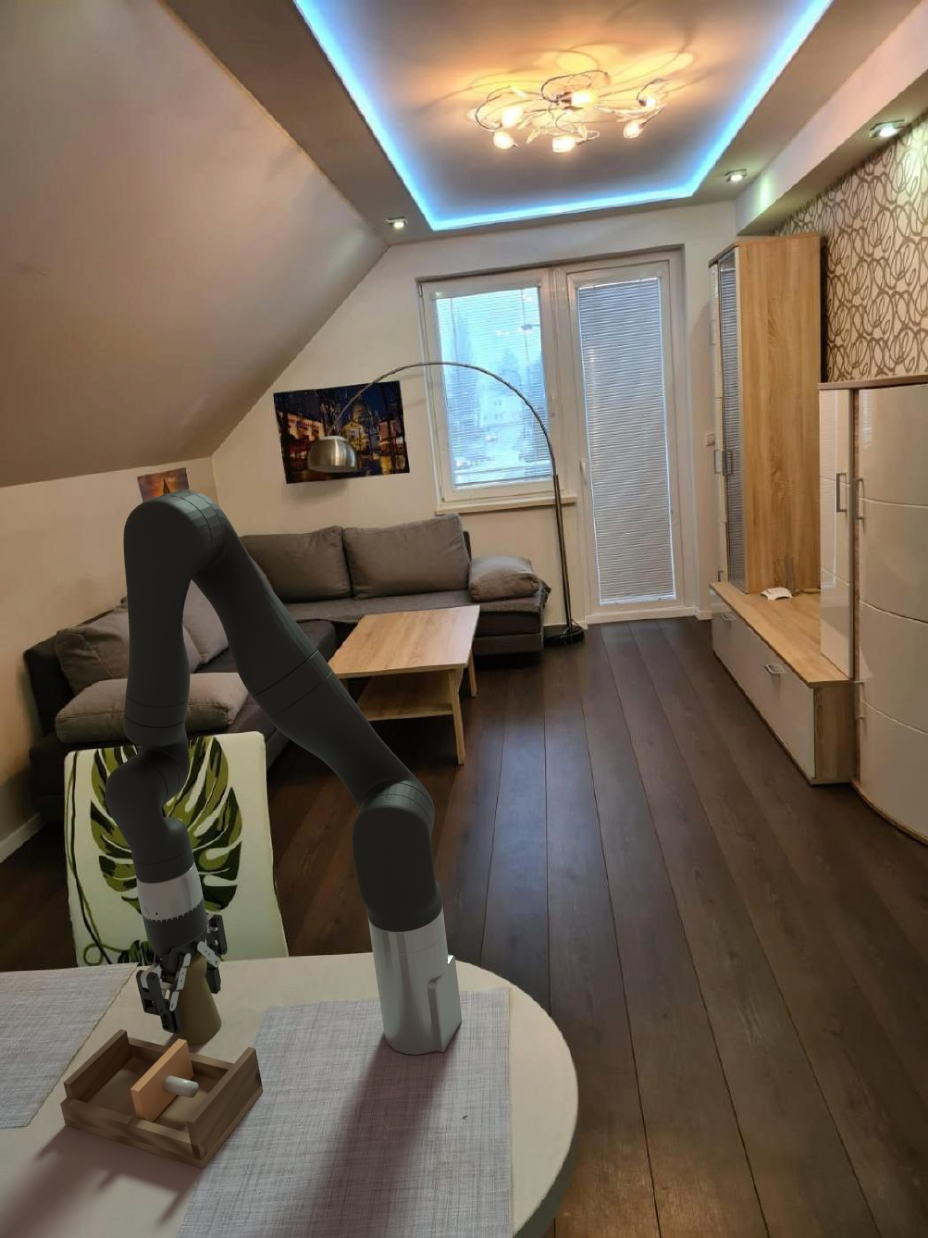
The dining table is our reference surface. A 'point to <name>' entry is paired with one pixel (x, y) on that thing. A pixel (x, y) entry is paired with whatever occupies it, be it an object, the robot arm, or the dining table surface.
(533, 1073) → the dining table surface
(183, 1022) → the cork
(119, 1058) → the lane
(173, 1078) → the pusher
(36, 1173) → the dining table surface
